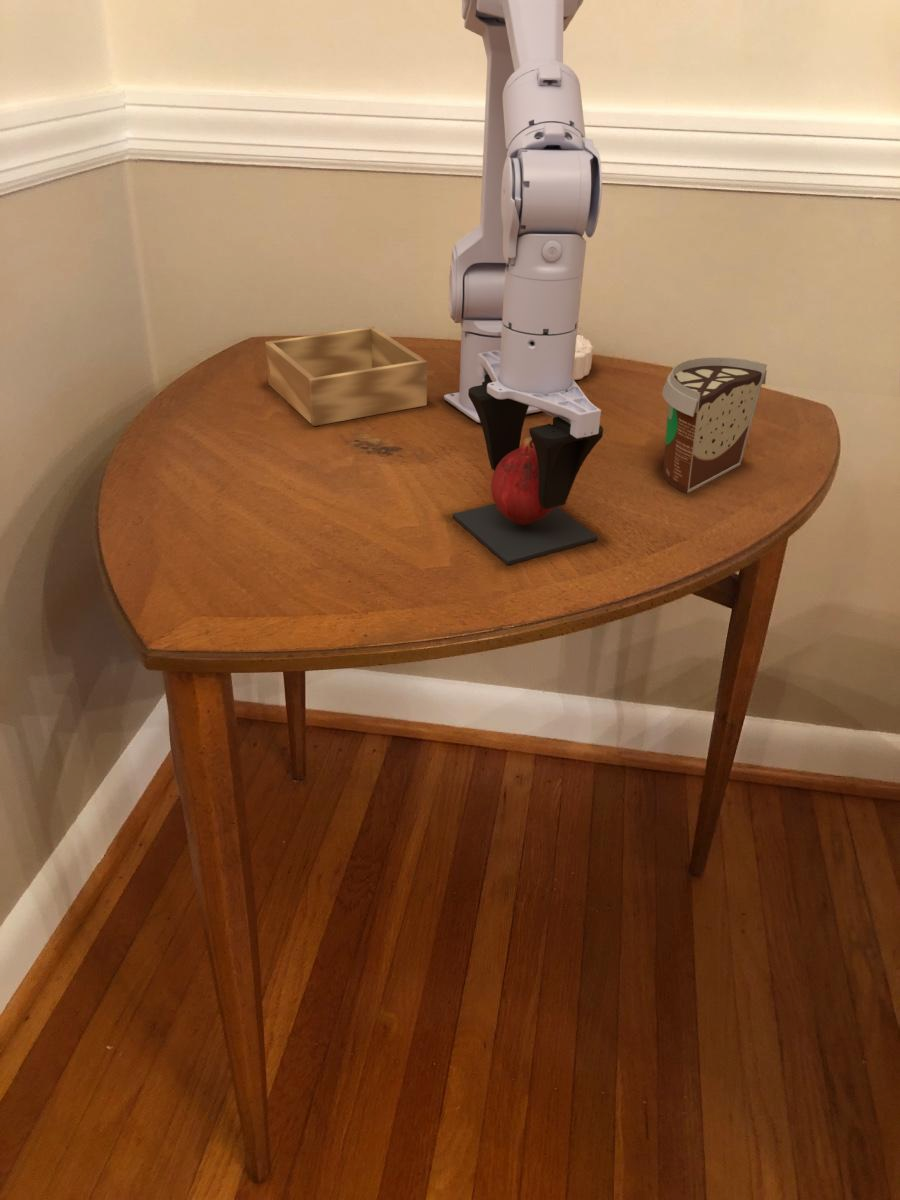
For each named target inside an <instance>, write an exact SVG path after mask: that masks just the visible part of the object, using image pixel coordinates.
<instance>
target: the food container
mask: <svg viewBox="0 0 900 1200" xmlns="http://www.w3.org/2000/svg"><path fill="white" fill-rule="evenodd" d="M767 366H768V364H767V363H764V362H760V361H756V360H751V359H744V358H736V357H735V358H734V357H724V356H723V357H722V356H709V357H697V358H692V359H691V358H690V359H687V360H684V361H681V362H680V363H677V364H675V366H673V368H672V370H671V371H670V373H669V374H668V376H667V378H666V381H665V383H664V386H663V388H662V393H661V395H662V398H663V401H665V402H666V404H667V417H666V428H665V429H666V430H665V431H666V432H665V444H664V454H663V455H664V457H663V467H662V468H663V469H662V475H663V477H664V479H665V480H666V482H667V483H668V484H669V485H671V486H672V487H673V488H674V489H677V490H678V491H681V492H683V493H684V494H689V493H692V492H693V491H695V490H697V489H698V488H700V487H703V486H704V485H706V484H708V483H710V482H711V481H713V480H716V479H717V478H720V477H721V476H723V475H725V474H727V473H728V472H730V471H732V470H734V469H736V468H738V467H739V466H741V464H742V461H743V457H744V453H745V450H746V446H747V442H748V438H749V434H750V430H751V428H752V423H753V419H754V415H755V412H756V408H757V404H758V401H759V396H760V393H761V389H762V386H763V385H766V381H767V374H768V373H767V371H768V370H767Z"/></svg>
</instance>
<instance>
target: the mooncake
mask: <svg viewBox="0 0 900 1200" xmlns="http://www.w3.org/2000/svg"><path fill="white" fill-rule="evenodd" d="M593 353H594V346H593V345H592V343H591V341H590V340H589V339H588V338H587V339H586V338H585V337H584V335H581V334H577V339H576V348H575V358H574V368H573V378H572V379H573V380H574V381H580V380H582V379H584V377H587V376H588V375H589V374H590V371H591V370H592V363H593V362H592V361H593Z"/></svg>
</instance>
